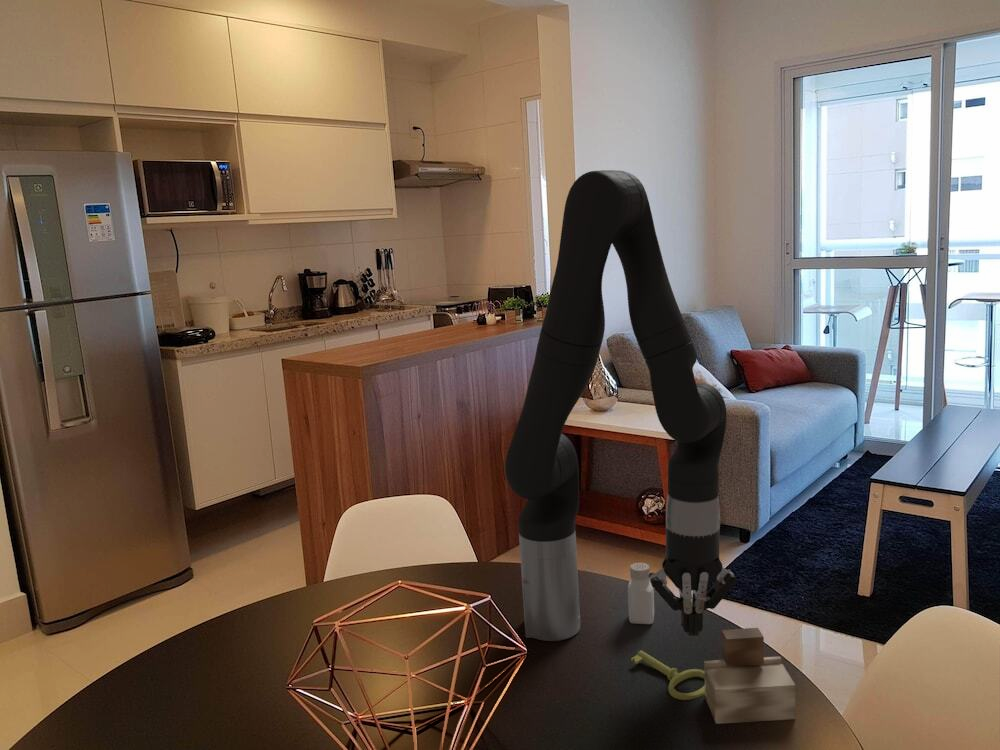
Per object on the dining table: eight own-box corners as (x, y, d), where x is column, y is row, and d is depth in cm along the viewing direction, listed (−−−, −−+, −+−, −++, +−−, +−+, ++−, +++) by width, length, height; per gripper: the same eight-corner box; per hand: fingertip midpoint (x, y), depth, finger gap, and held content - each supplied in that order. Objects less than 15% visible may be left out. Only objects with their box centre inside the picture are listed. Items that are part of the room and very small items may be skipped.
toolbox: (716, 723, 108) (715, 689, 107) (706, 701, 113) (705, 668, 112) (795, 719, 108) (795, 685, 107) (782, 696, 113) (782, 663, 112)
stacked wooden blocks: (713, 714, 110) (711, 652, 108) (703, 690, 115) (702, 631, 113) (791, 709, 110) (791, 647, 108) (777, 686, 115) (777, 626, 113)
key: (638, 660, 125) (637, 647, 125) (716, 681, 118) (716, 668, 118) (618, 684, 119) (617, 671, 119) (699, 708, 113) (699, 694, 112)
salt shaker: (628, 624, 135) (626, 571, 133) (630, 612, 139) (628, 560, 137) (653, 625, 134) (651, 572, 132) (654, 614, 138) (652, 561, 136)
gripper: (731, 511, 120) (729, 618, 124) (642, 515, 121) (642, 621, 124) (746, 532, 113) (743, 645, 117) (651, 536, 113) (651, 648, 117)
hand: (691, 632), depth 121 cm, fingers closed
